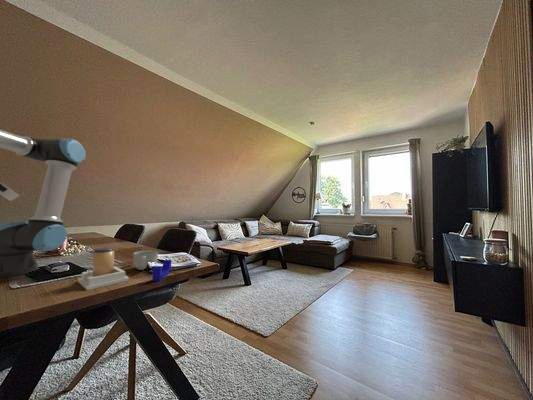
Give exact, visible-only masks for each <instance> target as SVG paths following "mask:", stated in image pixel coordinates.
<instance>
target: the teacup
mask: <svg viewBox="0 0 533 400" xmlns="http://www.w3.org/2000/svg"><path fill="white" fill-rule="evenodd" d="M158 254H159V252H158V251H157V250H155V251H154V250H140V251H135V252H133V257H132V258H133V259H132V264H133V267H134V268H136V269H137V270H139V271H145V270H144V269H145V268H146V266H147V263H148V262H151V263H152V262H157V263H158V256H159V255H158Z"/></svg>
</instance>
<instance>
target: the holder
mask: <svg viewBox="0 0 533 400" xmlns="http://www.w3.org/2000/svg"><path fill="white" fill-rule="evenodd" d="M126 273H127V272H126V271H125V270H123V269H121V268H119V267H118V266H115V265H114V273H111V274H106V275H101V276H96V277H93V270H89V271H83V272H81V277H79V278H77V282H78V284H79V285H80V286H82V287H83V288H84V289H85V290H86V291H89V290H90V291H91V290H93V289H98V288H103V287H107V286H111V285H112V286H113V285H115V284H120V283H124V282H128V281H129V280H130V277H129V276H128V275H126Z"/></svg>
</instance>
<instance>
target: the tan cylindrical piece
mask: <svg viewBox="0 0 533 400" xmlns="http://www.w3.org/2000/svg"><path fill="white" fill-rule="evenodd" d="M92 251H93V255H92V256H93V258H92V259H93V261H92V262H93V263H92V271H93V277H96V276H101V275H106V274H111V273H114V267H115V247H112V246H111V247H99V248H94V249H93V250H92Z"/></svg>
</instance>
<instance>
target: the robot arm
mask: <svg viewBox="0 0 533 400" xmlns="http://www.w3.org/2000/svg"><path fill="white" fill-rule="evenodd" d="M0 149H4V150H7V151H11V152H14V153H15V154H16V155H17V156H21V157H25V158H28V159H31V160H35V161H39V162H44V163H45V164H46V165H47V170H46V173H45V177H44V180H43V184H42V188H41V192H40V195H39V200H38V203H37V207H36V210H35V213H34V216H32V217H30V218H29V219H28V220H25V221H13V222H12V221H11V222H5V223H0V279H1V278H3V279H4V278H10V277H17V276H23V275H28V274H30V273H29V272H31V273H33V272H32V271H34V272H36V271H35V270H37V269H38V270H39V263H38V261H37V260H36V257H35V255H34V251H36V252H47V251H49V252H50V251H53V250H56V249H58V248H59V247H61V246H62V245H63V244H65V242H66V241H67V240H66V239H67V238H68V231H67V228H66V227H65V226H64V221H63V220H62V219H61V216H62V213H63V208H64V205H65V201H66V198H67V197H66V196H67V192H68V188H69V185H70V184H69V183H70V181H71V180H70V179H71V176H72V172H73V171H75V170H77V168H78V165H79V164H80V163H82V162H84V161H85V160H86V157H87V156H86V155H87V154H86V153H87V152H86V150H85V148H84V147H83V145H82V143H80V142H79V141H78V140H76V139H73V138H67V137H66V138H65V137H64V138H35V137H31V136H27V135H18V134H15V133H13V132H9V131H6V130H3V129H0ZM0 196H2V197H3V198H5V199H7V200H8V201H9V202H11V201H14V200H15V199H17V198H18V197H20V196H21V195H20V194H19V193H17V192H15V191H14V190H13V189H12V188H10V187H9V186H7V184H5V183H4V182H2V181H0ZM38 270H37V271H38ZM27 273H28V274H27Z"/></svg>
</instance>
